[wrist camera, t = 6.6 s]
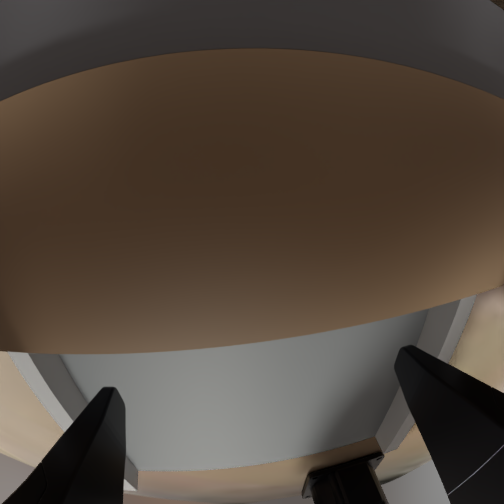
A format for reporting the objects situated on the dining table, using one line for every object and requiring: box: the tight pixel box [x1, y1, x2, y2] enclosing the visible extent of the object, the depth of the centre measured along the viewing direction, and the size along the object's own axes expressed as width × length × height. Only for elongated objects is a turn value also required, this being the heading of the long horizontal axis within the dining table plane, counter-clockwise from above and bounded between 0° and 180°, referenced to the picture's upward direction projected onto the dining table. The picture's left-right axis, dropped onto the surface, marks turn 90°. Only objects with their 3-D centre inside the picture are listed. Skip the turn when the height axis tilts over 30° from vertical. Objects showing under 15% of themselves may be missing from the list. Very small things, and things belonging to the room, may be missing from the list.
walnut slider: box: [0, 48, 504, 354], centre depth 5 cm, size 4×14×4 cm, turn 92°
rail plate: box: [0, 0, 504, 491], centre depth 9 cm, size 21×18×4 cm
